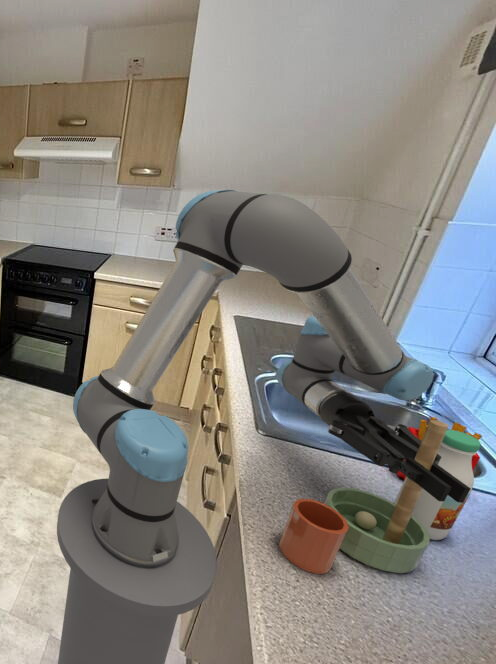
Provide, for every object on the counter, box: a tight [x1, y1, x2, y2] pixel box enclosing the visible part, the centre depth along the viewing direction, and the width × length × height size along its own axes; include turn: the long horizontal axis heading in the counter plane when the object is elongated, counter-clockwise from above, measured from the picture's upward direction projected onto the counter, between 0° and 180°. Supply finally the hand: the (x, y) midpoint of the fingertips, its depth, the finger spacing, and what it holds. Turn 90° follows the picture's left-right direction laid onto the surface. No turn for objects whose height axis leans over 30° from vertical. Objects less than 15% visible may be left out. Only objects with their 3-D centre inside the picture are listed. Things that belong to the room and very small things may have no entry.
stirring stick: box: [382, 419, 449, 544], centre depth 68 cm, size 2×2×24 cm
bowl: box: [323, 486, 431, 574], centre depth 73 cm, size 13×13×6 cm
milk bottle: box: [393, 429, 482, 541], centre depth 75 cm, size 8×8×20 cm
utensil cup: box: [279, 498, 349, 575], centre depth 70 cm, size 7×7×9 cm
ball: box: [355, 511, 377, 529], centre depth 76 cm, size 3×3×3 cm
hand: (454, 494), depth 61 cm, fingers closed on stirring stick, 2 cm apart
